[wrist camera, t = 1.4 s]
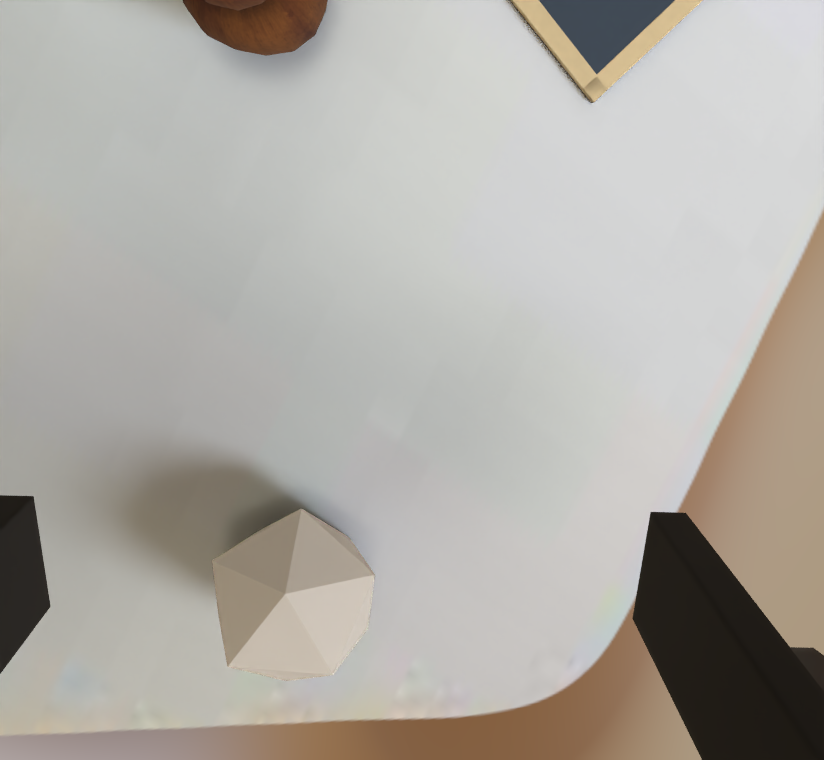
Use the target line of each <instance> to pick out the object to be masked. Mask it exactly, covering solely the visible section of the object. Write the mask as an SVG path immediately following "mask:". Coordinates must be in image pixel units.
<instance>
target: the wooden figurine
mask: <svg viewBox="0 0 824 760" xmlns="http://www.w3.org/2000/svg"><path fill="white" fill-rule="evenodd" d="M327 1H328V0H183V3H184V4H185V6H186V8H187V9H188V11H189V12H190V13H191V15H192V16H193V18H194V19H195V20H196V22H197V23H198V25H199V26H200V28H201V29H202V30H203V31H204V32H205V33H206V34H207V35H208V36H209V37H211V38H213V39H215V40H217V41H219V42H222V43H224V44H226V45H228V46H230V47H232V48H234V49H237V50H240V51H245V52H251V53H256V54H261V55H272V54H279V53H285V52H292V51H295V50H296V49H297V48H299V47H300V46H301V45H303V44H304V43H305V42H307V41H308V40H309V39H310V38H312V37H313V36H314V35H315V34H316V31H317V29H318V27H319V25H320V22H321V20H322V18H323V16H324V13H325V11H326V6H327Z"/></svg>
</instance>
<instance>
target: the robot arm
mask: <svg viewBox="0 0 824 760" xmlns="http://www.w3.org/2000/svg"><path fill="white" fill-rule="evenodd" d="M49 608H50V601H49V594H48V588H47V581H46V575H45V568H44V562H43V555H42V549H41V542H40V536H39V529H38V523H37V516H36V510H35V503H34V497H33V496H0V673H1V672H2V671H3V669H4V668H5V667H6V665H7V664H8V663H9V661H10V660H11V659H12V657H13V656H14V655H15V653H16V652H17V651H18V649H19V648H20V647H21V645H22V644H23V643H24V641H25V640H26V639H27V637H28V636H29V635H30V633H31V632H32V631H33V629H34V628H35V626H36V625H37V624H38V622H39V621H40V620H41V618H42V617H43V616H44V614H45V613H46V612H47V610H48V609H49ZM633 620H634V622H635V624H636V626H637V628H638V630H639V632H640V634H641V637H642V639H643V641H644V643H645V645H646V647H647V649H648V651H649V653H650V655H651V657H652V659H653V661H654V663H655V665H656V667H657V669H658V671H659V673H660V675H661V677H662V679H663V681H664V683H665V685H666V687H667V689H668V691H669V693H670V695H671V697H672V699H673V702H674V704H675V706H676V708H677V709H678V712H679V714H680V716H681V718H682V720H683V721H684V724H685V726H686V728H687V730H688V732H689V734H690V736H691V738H692V740H693V742H694V744H695V746H696V748H697V750H698V752H699V754H700V756H701V758H702V760H824V655H822V654H821V653H819V652H818V651H817V650H815V649H814V648H792V647H791V648H790V647H789V646H788V644H787V643H786V642H785V640H784V639H783V638H782V637H781V635H780V634H779V633H778V631H777V630H776V629H775V627H774V626H773V625H772V624H771V622H770V621H769V620H768V618H767V617H766V616H765V615H764V613H763V612H762V611H761V609H760V608H759V607H758V606H757V604H756V603H755V602H754V600H753V599H752V598H751V596H750V595H749V594H748V593H747V591H746V590H745V589H744V587H743V586H742V585H741V584H740V582H739V581H738V580H737V578H736V577H735V576H734V575H733V573H732V572H731V571H730V569H729V568H728V567H727V565H726V564H725V563H724V562H723V560H722V559H721V558H720V556H719V555H718V554H717V553H716V551H715V550H714V549H713V547H712V546H711V545H710V544H709V542H708V541H707V540H706V538H705V537H704V536H703V535H702V534H701V532H700V531H699V529H698V528H697V527H696V525H695V524H694V523H693V522H692V520H691V519H690V518H689V517H688V515H687V514H686V513H669V512H651V514H650V520H649V526H648V531H647V537H646V543H645V549H644V555H643V561H642V567H641V572H640V578H639V584H638V590H637V596H636V602H635V608H634V613H633Z"/></svg>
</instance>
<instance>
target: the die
mask: <svg viewBox="0 0 824 760" xmlns="http://www.w3.org/2000/svg"><path fill="white" fill-rule="evenodd" d="M212 566H213V574H214V582H215V590H216V598H217V606H218V614H219V620H220V626H221V632H222V638H223V643H224V649H225V655H226V660H227V666H228V667H231V668H235V669H239V670H243V671H247V672H251V673H256V674H260V675H264V676H268V677H272V678H276V679H280V680H284V681H291V680H298V679H306V678H313V677H321V676H329V675H333V674H334V673H335V672H336V670H337V669H338V668H339V666H340V665H341V664H342V662H343V661H344V660H345V659H346V657H347V656H348V655H349V653H350V652H351V651H352V649H353V648H354V647H355V645H356V644H357V643H358V641H359V640H360V639H361V637H362V636H363V635H364V633H365V632H366V631H367V629H368V626H369V618H370V610H371V602H372V594H373V586H374V578H375V574H374V573H373V571H372V570H371V568H370V567H369V565H368V564H367V562H366V561H365V560H364V558H363V557H362V555H361V554H360V552H359V551H358V549H357V548H356V547H355V545H354V544H353V542H352V541H351V539H350V538H349V537H348V536H346V535H344V534H343V533H341V532H339V531H338V530H336V529H334V528H333V527H331V526H330V525H328V524H326V523H325V522H323V521H321V520H320V519H318V518H316V517H315V516H313V515H311V514H310V513H308V512H307V511H305V510H303V509H302V508H301V509H299V510H297V511H296V512H294V513H292V514H290V515H288V516H286V517H284V518H282V519H280V520H278V521H276V522H274V523H272V524H270V525H269V526H267V527H265V528H263V529H261V530H259V531H258V532H256V533H255V534H253V535H251V536H250V537H248V538H247V539H245V540H244V541H242V542H240V543H239V544H237V545H236V546H234V547H233V548H231V549H229V550H228V551H226V552H225V553H223V554H222V555H220V556H218V557H217V558H215V559H214V560H212Z"/></svg>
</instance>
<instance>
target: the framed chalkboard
mask: <svg viewBox="0 0 824 760" xmlns="http://www.w3.org/2000/svg"><path fill="white" fill-rule="evenodd" d="M510 1H511V2H512V3H513V4H514V6H515V7H516V8H517V10H518V11H519V12H520V13H521V15H522V16H523V17H524V18H525V20H526V21H527V22H528V23H529V25H530V26H531V27H532V28H533V30H534V31H535V32H536V34H537V35H538V36H539V37H540V39H541V40H542V41H543V42H544V44H545V45H546V46H547V47H548V49H549V50H550V51H551V52H552V54H553V55H554V56H555V57H556V59H557V60H558V61H559V63H560V64H561V65H562V66H563V68H564V69H565V70H566V71H567V73H568V74H569V75H570V76H571V78H572V79H573V80H574V81H575V83H576V84H577V85H578V87H579V88H580V89H581V90H582V92H583V93H584V94H585V95H586V97H587V98H588V99H589V100H590V102H591V103H593V102H595V101H596V100H597V99H598V98H599V97H600V96H601V95H602V94H603V93H605V92H606V91H607V90H608V89H609V88H610V87H611V86H612V85H613V84H614V83H615V82H616V81H617V80H618V79H619V78H620V77H622V76H623V75H624V74H625V73H626V72H627V71H628V70H629V69H630V68H631V67H632V66H633V65H634V64H635V63H636V62H638V61H639V60H640V59H641V58H642V57H643V56H644V55H645V54H646V53H647V52H648V51H649V50H650V49H651V48H652V47H654V46H655V45H656V44H657V43H658V42H659V41H660V40H661V39H662V38H663V37H664V36H665V35H666V34H667V33H668V32H669V31H671V30H672V29H673V28H674V27H675V26H676V25H677V24H678V23H679V22H680V21H681V20H682V19H683V18H684V17H685V16H687V15H688V14H689V13H690V12H691V11H692V10H693V9H694V8H695V7H696V6H697V5H698V4H699V3H700V2H701V1H703V0H510Z"/></svg>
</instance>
